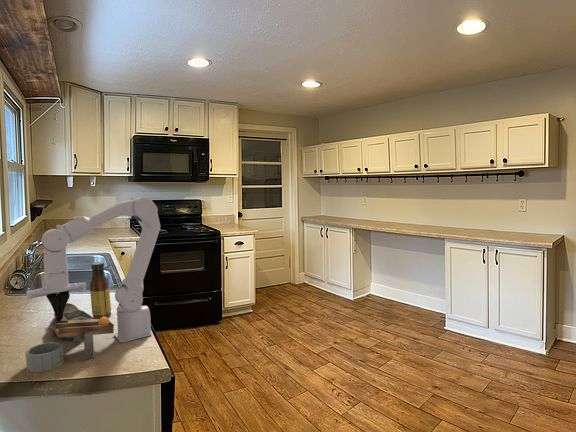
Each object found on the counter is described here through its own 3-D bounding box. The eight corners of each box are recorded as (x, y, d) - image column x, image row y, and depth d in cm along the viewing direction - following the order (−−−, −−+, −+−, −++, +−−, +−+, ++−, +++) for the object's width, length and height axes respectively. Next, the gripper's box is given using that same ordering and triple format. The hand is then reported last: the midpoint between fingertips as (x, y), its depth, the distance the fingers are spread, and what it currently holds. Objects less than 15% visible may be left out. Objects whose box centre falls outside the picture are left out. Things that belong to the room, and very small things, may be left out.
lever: (101, 321, 123) (102, 314, 123) (113, 333, 113) (114, 325, 113) (49, 324, 114) (50, 316, 114) (58, 338, 104) (59, 329, 104)
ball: (107, 325, 117) (108, 315, 117) (110, 328, 114) (111, 318, 115) (96, 326, 115) (98, 315, 115) (99, 329, 113) (100, 318, 113)
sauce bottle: (106, 312, 147) (103, 260, 145) (114, 316, 143) (112, 262, 142) (88, 317, 142) (85, 263, 140) (96, 321, 138) (93, 265, 136)
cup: (59, 355, 112) (58, 339, 111) (65, 365, 105) (64, 349, 105) (25, 364, 106) (24, 347, 106) (29, 375, 100) (28, 358, 100)
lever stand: (80, 341, 121) (79, 317, 120) (94, 359, 109) (92, 332, 108) (73, 343, 120) (71, 318, 119) (86, 361, 108) (84, 334, 107)
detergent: (99, 335, 126) (88, 312, 146) (96, 314, 124) (85, 294, 145) (51, 349, 118) (47, 322, 139) (47, 326, 117) (43, 303, 138)
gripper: (81, 265, 120) (83, 309, 121) (23, 273, 110) (27, 320, 112) (87, 269, 114) (89, 315, 115) (27, 278, 105) (30, 327, 106)
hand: (59, 318), depth 113 cm, fingers closed
